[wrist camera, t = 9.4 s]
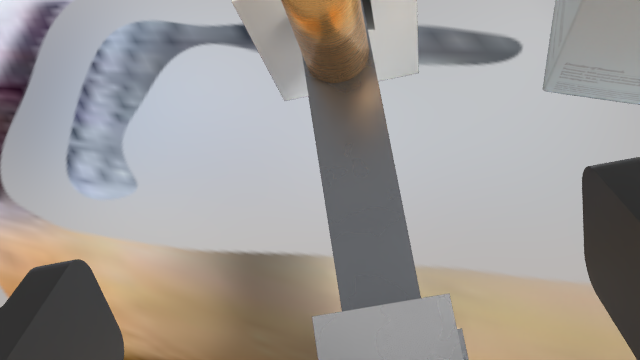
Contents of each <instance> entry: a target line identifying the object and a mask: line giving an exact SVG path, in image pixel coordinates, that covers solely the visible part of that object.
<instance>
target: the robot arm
mask: <svg viewBox="0 0 640 360" xmlns="http://www.w3.org/2000/svg"><path fill="white" fill-rule="evenodd" d="M582 195H583V224H584V226H583V227H584V254H585V261H586V267H587V271H588V275H589V278H590V281H591V284H592V286H593V288H594V290H595V292H596V294H597V296H598V297H599V299H600V301H601V302H602V304H603V305H604V307H605V309H606V310H607V312H608V313H609V315H610V317H611V318H612V320H613V322H614V323H615V325H616V326H617V328H618V330H619V331H620V333H621V334H622V336H623V338H624V339H625V341H626V342H627V344H628V346H629V347H630V349H631V350H632V352H633V354H634V355H635V357H636V359H637V360H640V157H636V158H631V159H626V160H620V161H615V162H609V163H604V164H599V165H593V166H588V167H586V168H585V170H584V172H583V177H582ZM123 359H124V343H123V338H122V334H121V331H120V328H119V326H118V324H117V322H116V320H115V318H114V316H113V314H112V312H111V310H110V307H109V305H108V303H107V301H106V299H105V297H104V295H103V293H102V291H101V289H100V287H99V285H98V282H97V280H96V278H95V276H94V274H93V272H92V270H91V268H90V267H89V266H88V264H87V263H85V262H84V261H82V260H72V261H66V262H61V263H55V264H50V265H44V266H39V267H35V268H33V269H31V270H30V271H29V272H28V274H27V275H26V276H25V278H24V279H23V280H22V282H21V283H20V284H19V286H18V287H17V288H16V290H15V291H14V292H13V294H12V295H11V296H10V298H9V299H8V300H7V302H6V303H5V304H4V305H3V306H2V307H1V308H0V360H123Z"/></svg>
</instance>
